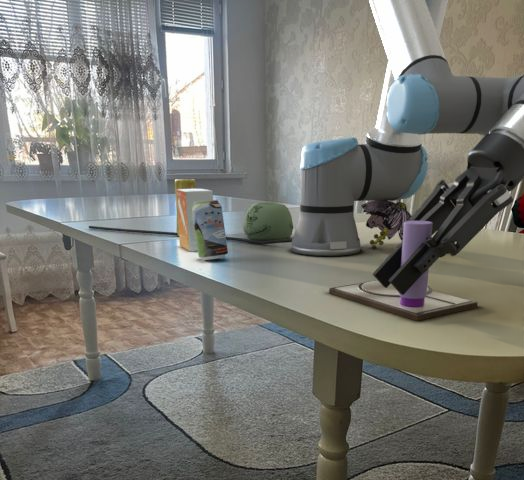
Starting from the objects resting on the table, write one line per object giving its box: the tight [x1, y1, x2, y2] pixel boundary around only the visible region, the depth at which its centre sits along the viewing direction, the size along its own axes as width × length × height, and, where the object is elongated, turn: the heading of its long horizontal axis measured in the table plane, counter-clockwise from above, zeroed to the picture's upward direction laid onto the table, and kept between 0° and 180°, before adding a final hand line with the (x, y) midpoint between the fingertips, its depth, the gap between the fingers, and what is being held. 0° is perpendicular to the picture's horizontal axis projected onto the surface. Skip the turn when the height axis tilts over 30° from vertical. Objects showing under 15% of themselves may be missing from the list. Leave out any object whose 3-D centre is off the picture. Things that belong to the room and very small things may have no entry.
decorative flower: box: [360, 200, 412, 250], centre depth 123 cm, size 14×12×15 cm
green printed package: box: [192, 199, 229, 261], centre depth 110 cm, size 6×7×12 cm
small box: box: [177, 188, 214, 252], centre depth 123 cm, size 8×6×13 cm
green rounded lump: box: [243, 202, 294, 241], centre depth 139 cm, size 16×13×9 cm
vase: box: [174, 178, 197, 237], centre depth 143 cm, size 6×6×14 cm
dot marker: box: [399, 221, 433, 307], centre depth 72 cm, size 4×4×11 cm
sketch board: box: [328, 279, 479, 322], centre depth 80 cm, size 18×14×1 cm
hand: (387, 284), depth 72 cm, fingers closed on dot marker, 4 cm apart
